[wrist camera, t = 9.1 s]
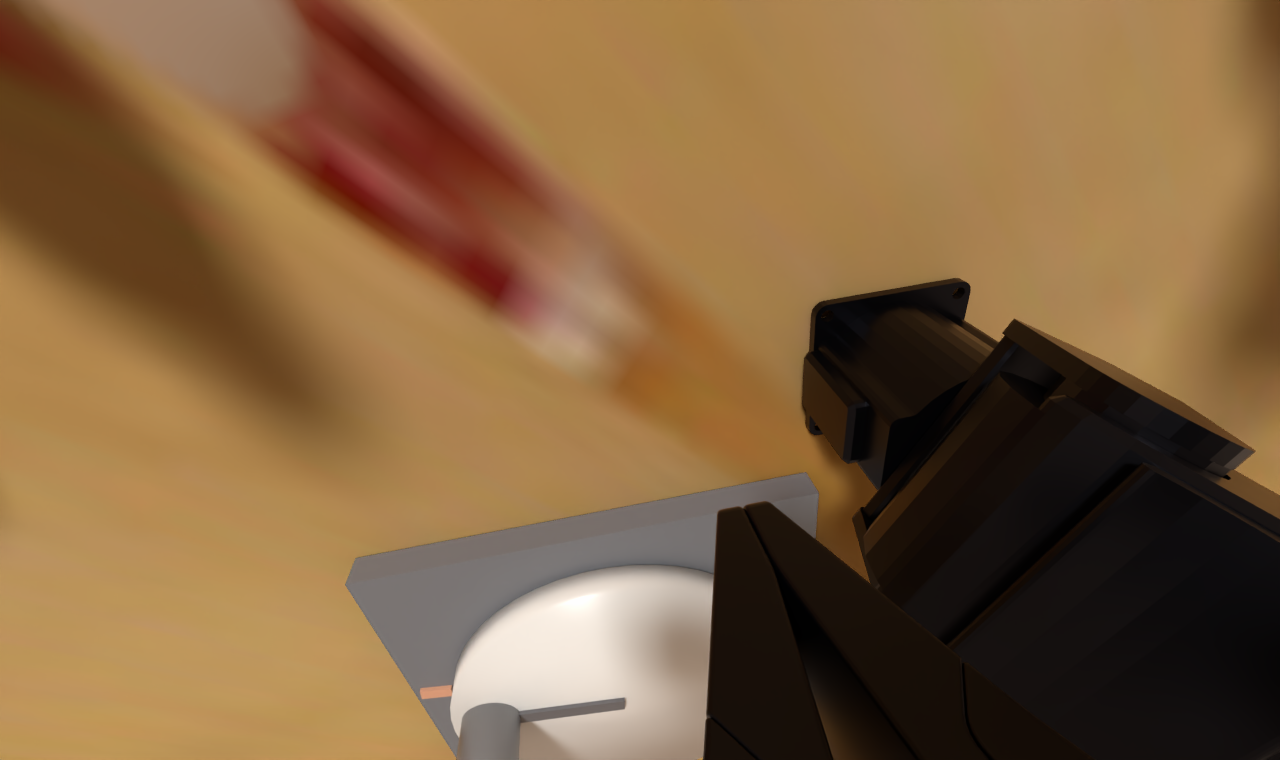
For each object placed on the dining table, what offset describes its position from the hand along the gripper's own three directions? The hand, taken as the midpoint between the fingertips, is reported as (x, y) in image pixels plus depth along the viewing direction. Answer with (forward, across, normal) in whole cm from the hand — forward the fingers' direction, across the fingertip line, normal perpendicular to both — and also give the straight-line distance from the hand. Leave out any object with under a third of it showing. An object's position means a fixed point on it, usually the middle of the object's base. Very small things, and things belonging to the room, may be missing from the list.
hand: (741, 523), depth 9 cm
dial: (+11, +4, +23) cm, 26 cm away
